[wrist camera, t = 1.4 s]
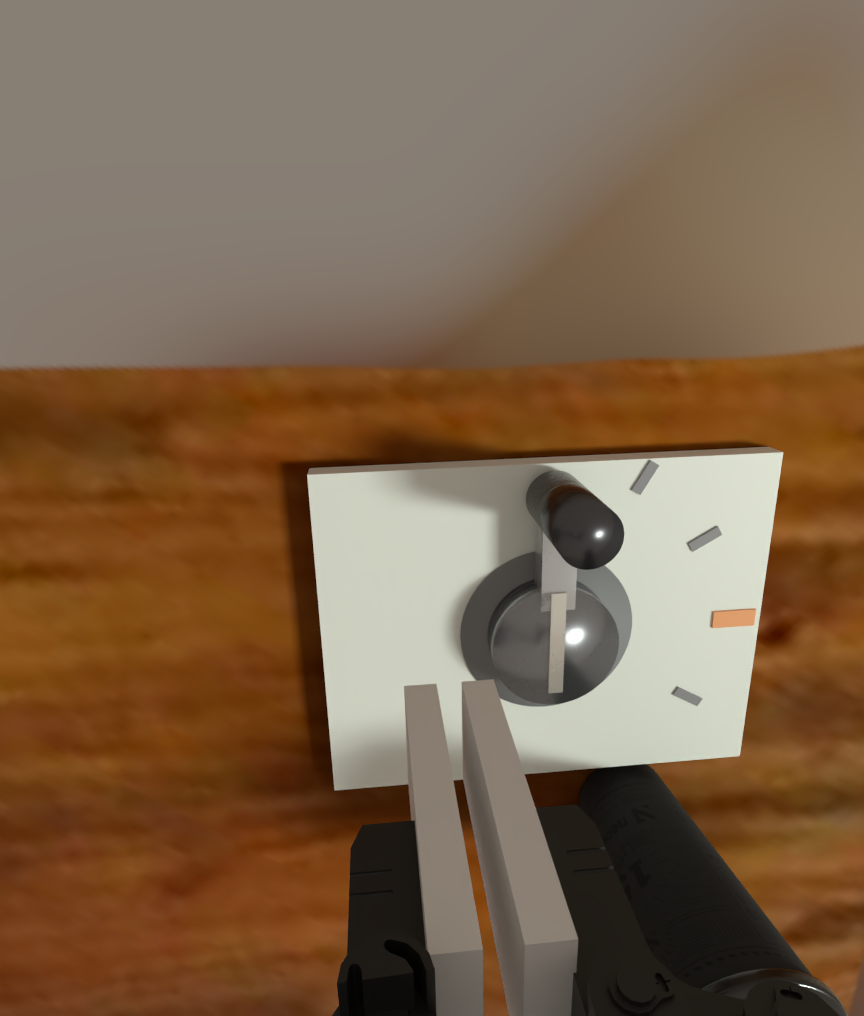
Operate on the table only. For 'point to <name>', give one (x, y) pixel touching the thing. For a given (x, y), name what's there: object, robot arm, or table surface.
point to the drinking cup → (687, 890)
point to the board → (511, 562)
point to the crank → (559, 598)
